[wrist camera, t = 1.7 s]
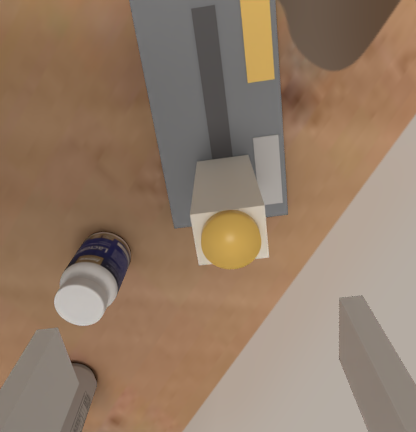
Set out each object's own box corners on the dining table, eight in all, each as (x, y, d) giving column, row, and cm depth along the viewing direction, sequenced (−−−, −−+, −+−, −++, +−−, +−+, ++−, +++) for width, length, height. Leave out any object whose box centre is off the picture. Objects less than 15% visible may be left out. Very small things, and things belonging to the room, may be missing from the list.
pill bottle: (114, 222, 42) (87, 271, 33) (140, 261, 44) (122, 317, 35) (72, 242, 43) (35, 295, 34) (99, 280, 45) (71, 339, 36)
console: (284, 207, 41) (288, 215, 39) (176, 220, 42) (174, 229, 40) (269, -29, 32) (273, -34, 30) (131, -6, 33) (126, -9, 31)
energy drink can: (66, 353, 50) (11, 468, 37) (106, 372, 52) (68, 490, 38) (47, 380, 52) (-11, 499, 39) (86, 398, 54) (43, 519, 40)
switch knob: (252, 193, 38) (271, 264, 26) (202, 199, 38) (198, 273, 26) (248, 154, 36) (266, 211, 24) (196, 161, 37) (189, 221, 24)
